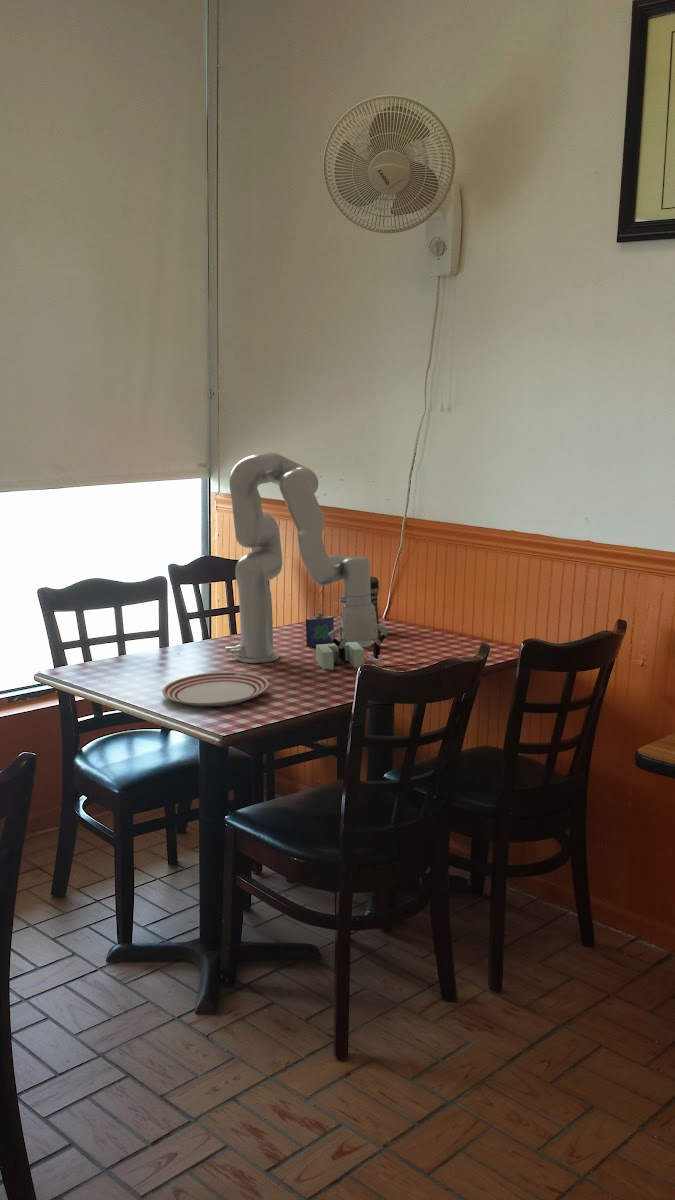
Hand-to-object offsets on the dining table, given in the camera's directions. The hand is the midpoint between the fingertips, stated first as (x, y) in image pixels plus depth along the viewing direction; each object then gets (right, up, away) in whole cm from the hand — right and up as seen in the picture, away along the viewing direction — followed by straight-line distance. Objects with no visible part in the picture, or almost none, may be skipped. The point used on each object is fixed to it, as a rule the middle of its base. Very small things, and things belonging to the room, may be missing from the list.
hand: (359, 659), depth 305 cm
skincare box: (+1, +3, +24) cm, 24 cm away
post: (-6, -1, +3) cm, 7 cm away
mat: (+10, 0, +6) cm, 12 cm away
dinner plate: (-38, -9, -27) cm, 47 cm away
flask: (-11, +3, +26) cm, 28 cm away
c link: (-6, -1, +4) cm, 7 cm away
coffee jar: (+3, +6, +41) cm, 41 cm away
